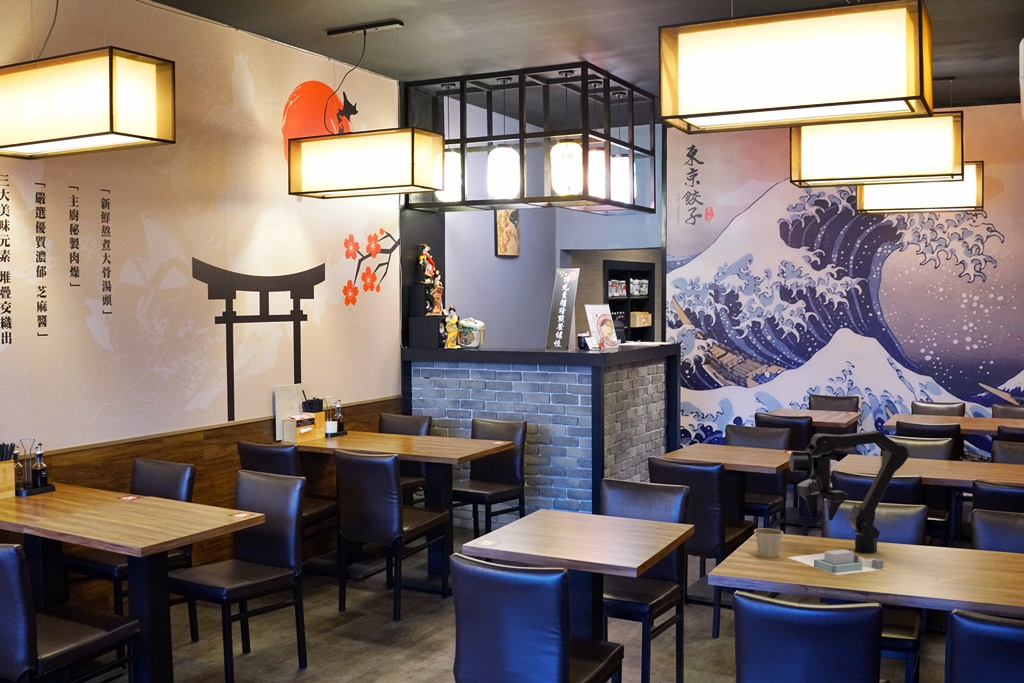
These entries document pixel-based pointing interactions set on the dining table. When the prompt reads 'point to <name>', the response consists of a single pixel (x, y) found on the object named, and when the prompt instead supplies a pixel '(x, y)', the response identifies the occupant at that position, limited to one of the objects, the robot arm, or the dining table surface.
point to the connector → (840, 557)
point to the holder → (837, 566)
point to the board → (810, 558)
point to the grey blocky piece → (877, 564)
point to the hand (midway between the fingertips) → (821, 517)
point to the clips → (866, 562)
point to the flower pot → (768, 542)
